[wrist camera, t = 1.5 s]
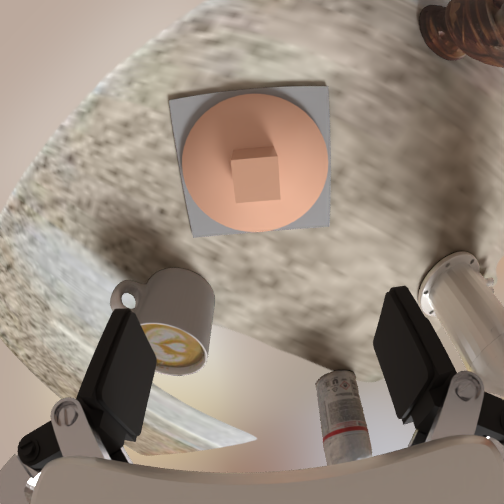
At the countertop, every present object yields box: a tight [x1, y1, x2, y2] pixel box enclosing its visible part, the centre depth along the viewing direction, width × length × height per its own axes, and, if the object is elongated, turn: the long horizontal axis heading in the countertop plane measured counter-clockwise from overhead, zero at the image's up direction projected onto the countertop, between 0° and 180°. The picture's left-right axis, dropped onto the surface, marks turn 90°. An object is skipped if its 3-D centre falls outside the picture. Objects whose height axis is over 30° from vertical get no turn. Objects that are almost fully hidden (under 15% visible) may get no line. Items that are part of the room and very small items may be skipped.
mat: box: [169, 86, 331, 238], centre depth 30 cm, size 16×16×1 cm
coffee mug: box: [110, 268, 215, 376], centre depth 35 cm, size 13×10×10 cm
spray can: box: [316, 371, 372, 466], centre depth 43 cm, size 8×8×20 cm
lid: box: [182, 94, 328, 232], centre depth 27 cm, size 15×15×6 cm
